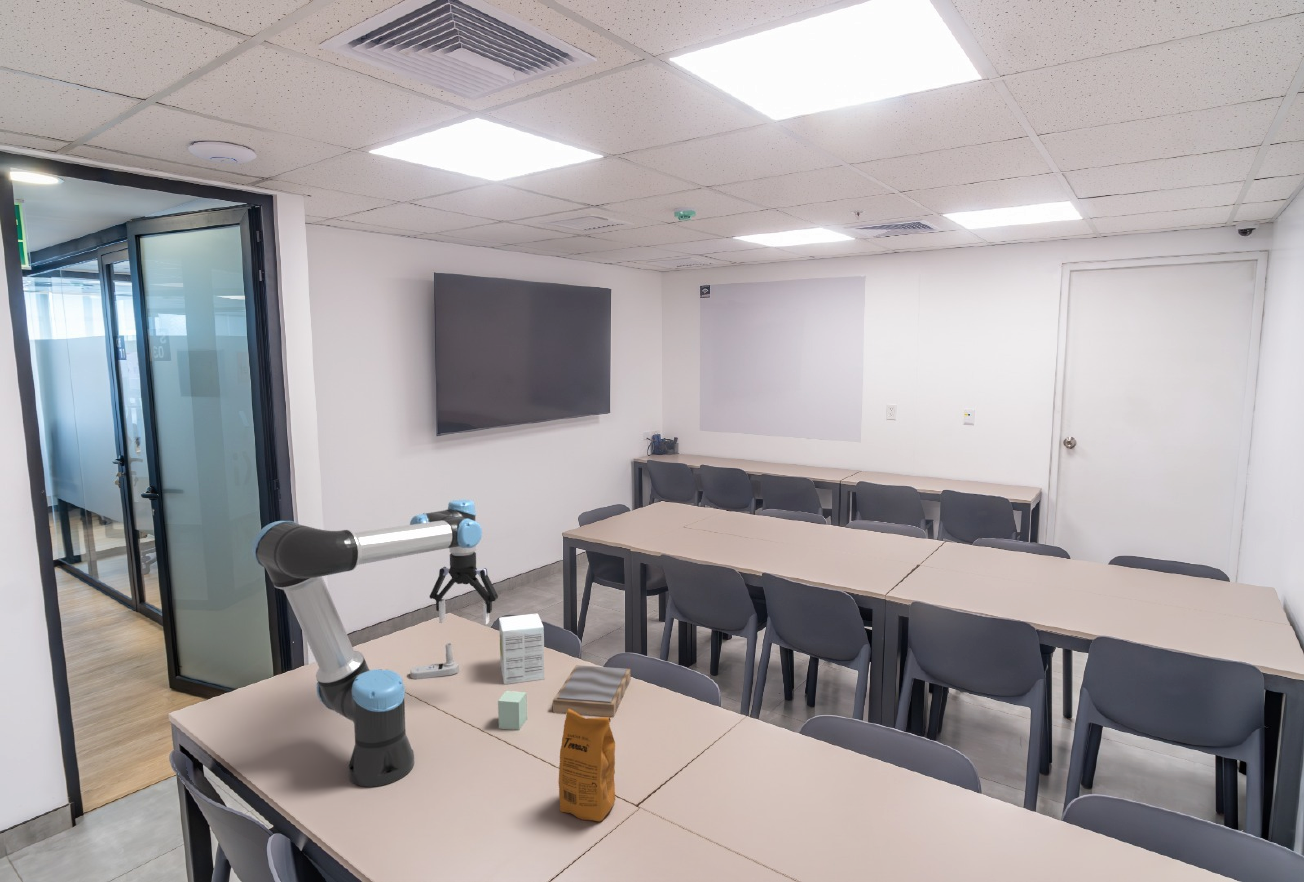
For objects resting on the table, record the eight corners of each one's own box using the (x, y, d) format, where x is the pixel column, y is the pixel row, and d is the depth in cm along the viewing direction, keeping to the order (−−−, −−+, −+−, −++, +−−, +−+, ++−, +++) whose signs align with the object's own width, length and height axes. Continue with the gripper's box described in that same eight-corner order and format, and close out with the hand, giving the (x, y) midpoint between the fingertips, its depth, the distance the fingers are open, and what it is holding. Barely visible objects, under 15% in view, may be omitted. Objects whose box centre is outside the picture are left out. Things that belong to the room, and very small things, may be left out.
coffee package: (575, 787, 159) (573, 698, 157) (621, 801, 154) (620, 709, 152) (551, 811, 151) (549, 717, 148) (599, 827, 145) (598, 730, 143)
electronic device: (409, 645, 220) (457, 640, 224) (412, 674, 222) (459, 668, 225) (407, 652, 215) (456, 646, 219) (410, 681, 216) (458, 675, 220)
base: (613, 717, 192) (613, 703, 192) (553, 712, 195) (552, 698, 195) (630, 679, 216) (630, 667, 215) (576, 675, 219) (576, 664, 218)
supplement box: (499, 667, 225) (498, 617, 223) (539, 662, 229) (538, 612, 227) (503, 685, 212) (501, 631, 211) (545, 679, 216) (544, 626, 215)
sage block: (519, 730, 185) (518, 702, 184) (498, 728, 186) (497, 700, 186) (527, 719, 191) (526, 692, 190) (507, 717, 192) (506, 690, 191)
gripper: (507, 550, 201) (509, 619, 203) (428, 548, 204) (429, 616, 206) (499, 557, 194) (500, 628, 196) (416, 554, 197) (418, 625, 199)
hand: (464, 622), depth 201 cm, fingers open, 13 cm apart
